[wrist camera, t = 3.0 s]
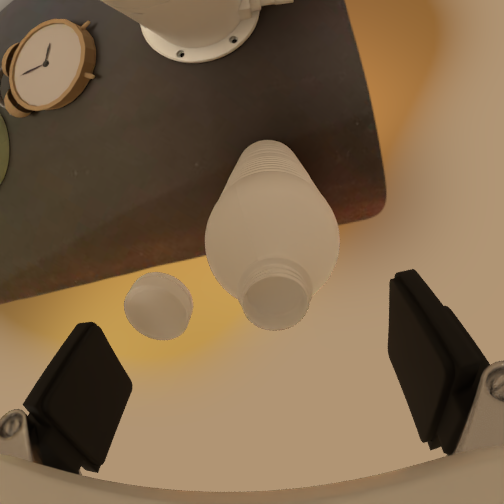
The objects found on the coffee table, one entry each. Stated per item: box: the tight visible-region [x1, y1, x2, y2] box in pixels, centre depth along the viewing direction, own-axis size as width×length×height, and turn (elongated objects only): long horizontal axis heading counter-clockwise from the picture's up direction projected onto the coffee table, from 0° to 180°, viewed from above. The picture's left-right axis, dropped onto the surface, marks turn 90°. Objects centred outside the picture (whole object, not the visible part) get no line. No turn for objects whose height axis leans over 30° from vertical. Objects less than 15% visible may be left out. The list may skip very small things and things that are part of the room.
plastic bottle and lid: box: [124, 140, 340, 340], centre depth 22 cm, size 9×6×25 cm
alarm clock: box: [0, 19, 96, 118], centre depth 26 cm, size 11×5×15 cm
